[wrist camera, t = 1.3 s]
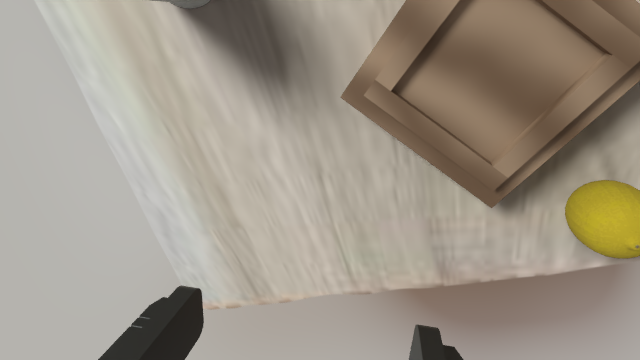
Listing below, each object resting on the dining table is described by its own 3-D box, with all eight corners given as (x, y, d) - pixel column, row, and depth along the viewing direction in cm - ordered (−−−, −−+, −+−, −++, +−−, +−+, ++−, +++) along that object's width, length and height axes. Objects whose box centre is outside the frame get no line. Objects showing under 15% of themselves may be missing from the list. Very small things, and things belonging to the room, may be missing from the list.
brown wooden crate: (475, -97, 24) (488, -123, 20) (649, 37, 25) (697, 41, 21) (348, 88, 32) (337, 99, 28) (483, 187, 33) (494, 213, 28)
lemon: (549, 172, 31) (588, 218, 24) (625, 160, 29) (692, 206, 22) (554, 225, 33) (591, 281, 26) (626, 216, 31) (687, 275, 24)
